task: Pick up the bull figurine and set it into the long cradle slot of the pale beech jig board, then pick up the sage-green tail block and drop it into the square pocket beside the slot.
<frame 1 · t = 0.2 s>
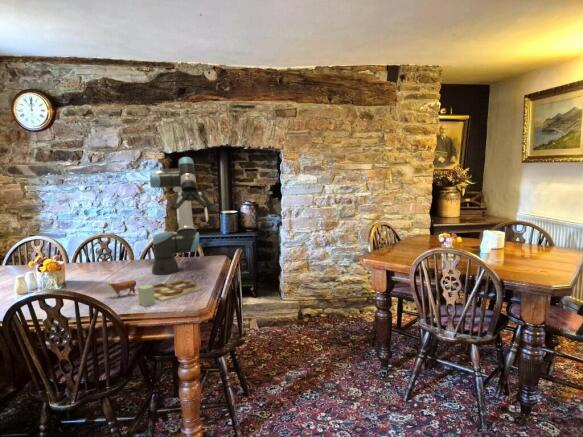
hand: (193, 221, 190), 36 cm above the table, tool tilted 35°, fingers open, 13 cm apart
sage-green tail block: (147, 303, 180), on the table
bull figurine: (122, 296, 191), on the table
beech jig board: (171, 291, 197), on the table
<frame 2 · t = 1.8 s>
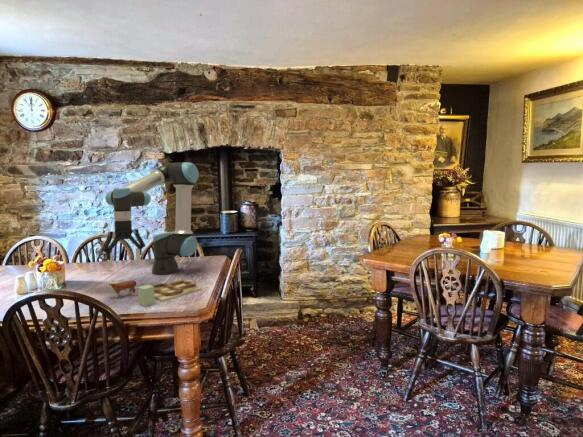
hand: (124, 264, 188), 16 cm above the table, tool pointing down, fingers open, 13 cm apart
nothing on the table moved.
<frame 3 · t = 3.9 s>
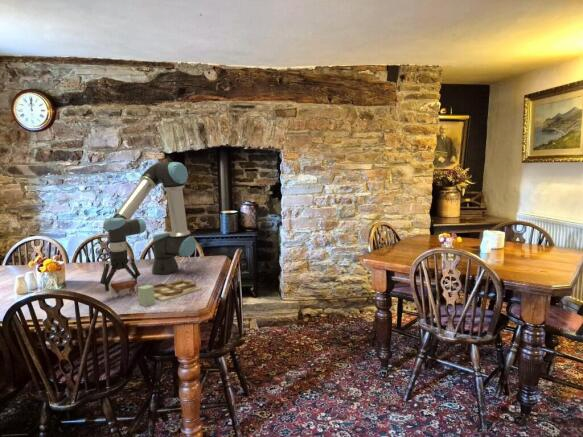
hand: (122, 294, 191), 1 cm above the table, tool pointing down, fingers closed on bull figurine, 11 cm apart
bull figurine: (122, 296, 191), on the table, touching gripper
everything else where it was.
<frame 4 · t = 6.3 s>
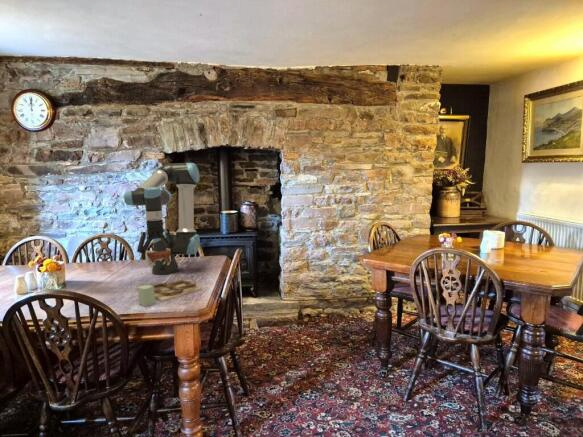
hand: (157, 263, 192), 15 cm above the table, tool pointing down, fingers closed on bull figurine, 11 cm apart
bull figurine: (157, 266, 192), point 14 cm above the table, touching gripper
everything else where it was.
when the fingers open (5 cm above the table, at t = 9.0 s): bull figurine drops 2 cm, resting on beech jig board.
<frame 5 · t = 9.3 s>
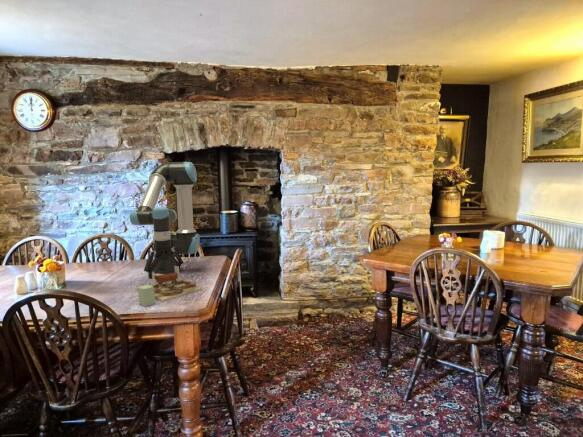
hand: (165, 281, 194), 6 cm above the table, tool pointing down, fingers open, 13 cm apart
bull figurine: (164, 288, 194), point 2 cm above the table, touching beech jig board
everything else where it was.
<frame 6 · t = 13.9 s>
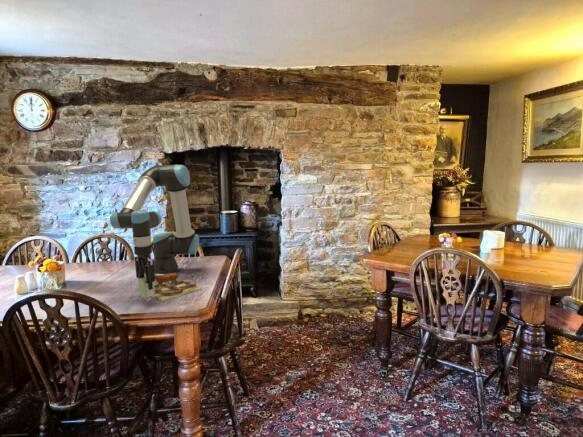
hand: (146, 294, 180), 4 cm above the table, tool pointing down, fingers closed on sage-green tail block, 5 cm apart
sage-green tail block: (147, 295, 180), point 4 cm above the table, touching gripper
everything else where it was.
when the fingers open (4 cm above the table, at t = 17.6 s): sage-green tail block drops 2 cm, resting on beech jig board.
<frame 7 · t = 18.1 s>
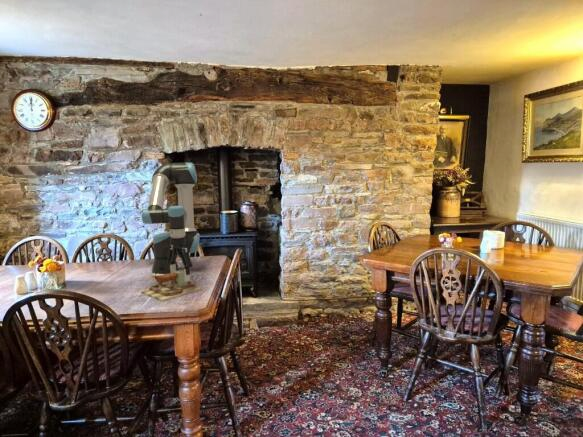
hand: (180, 278, 200), 5 cm above the table, tool pointing down, fingers open, 11 cm apart
sage-green tail block: (180, 286, 201), point 1 cm above the table, touching beech jig board
everything else where it was.
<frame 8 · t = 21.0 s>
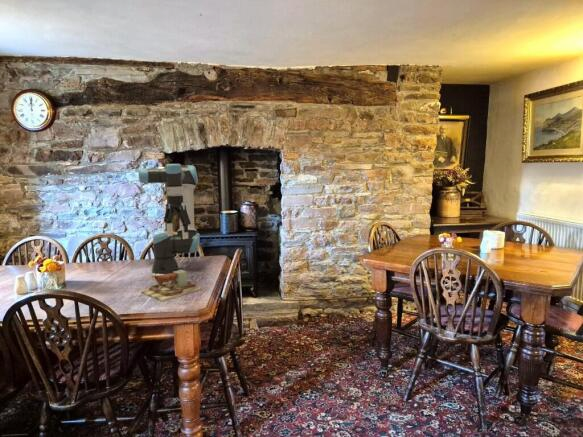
hand: (177, 237, 197), 27 cm above the table, tool pointing down, fingers open, 13 cm apart
nothing on the table moved.
at the end: bull figurine inside the target area on the beech jig board (0.5 cm from its centre), point 2.3 cm above the beech jig board's base; sage-green tail block inside the target area on the beech jig board (0.1 cm from its centre), point 1.0 cm above the beech jig board's base; the gripper is holding nothing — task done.
